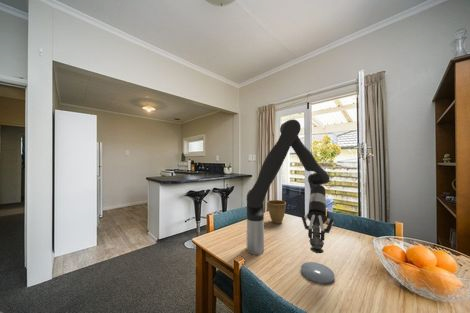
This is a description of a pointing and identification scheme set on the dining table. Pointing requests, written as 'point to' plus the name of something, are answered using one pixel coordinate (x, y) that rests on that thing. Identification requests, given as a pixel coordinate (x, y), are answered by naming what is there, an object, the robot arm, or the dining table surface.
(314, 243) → the dark ornate figurine
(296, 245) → the dining table surface
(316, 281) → the dish
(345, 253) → the dining table surface
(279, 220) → the plant pot
